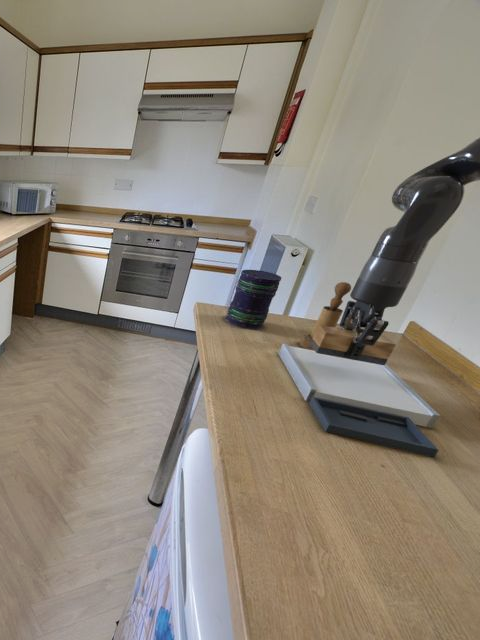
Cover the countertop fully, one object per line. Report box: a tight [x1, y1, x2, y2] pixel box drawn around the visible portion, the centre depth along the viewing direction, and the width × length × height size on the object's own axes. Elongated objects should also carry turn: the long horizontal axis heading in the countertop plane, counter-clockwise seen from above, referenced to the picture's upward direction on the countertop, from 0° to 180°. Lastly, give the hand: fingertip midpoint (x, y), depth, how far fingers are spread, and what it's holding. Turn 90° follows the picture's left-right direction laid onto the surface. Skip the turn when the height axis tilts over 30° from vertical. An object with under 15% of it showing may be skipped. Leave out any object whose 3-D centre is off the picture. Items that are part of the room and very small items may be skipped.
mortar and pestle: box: [299, 281, 352, 350], centre depth 104 cm, size 7×6×18 cm
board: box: [278, 343, 441, 429], centre depth 90 cm, size 20×24×3 cm
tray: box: [308, 397, 439, 458], centre depth 76 cm, size 15×10×2 cm
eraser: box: [310, 325, 397, 365], centre depth 90 cm, size 12×5×5 cm, turn 67°
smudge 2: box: [376, 416, 406, 427], centre depth 78 cm, size 4×1×1 cm, turn 67°
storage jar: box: [224, 269, 282, 330], centre depth 119 cm, size 10×10×15 cm
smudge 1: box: [339, 410, 368, 422], centre depth 79 cm, size 4×1×1 cm, turn 60°
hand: (345, 353), depth 91 cm, fingers closed on eraser, 5 cm apart
